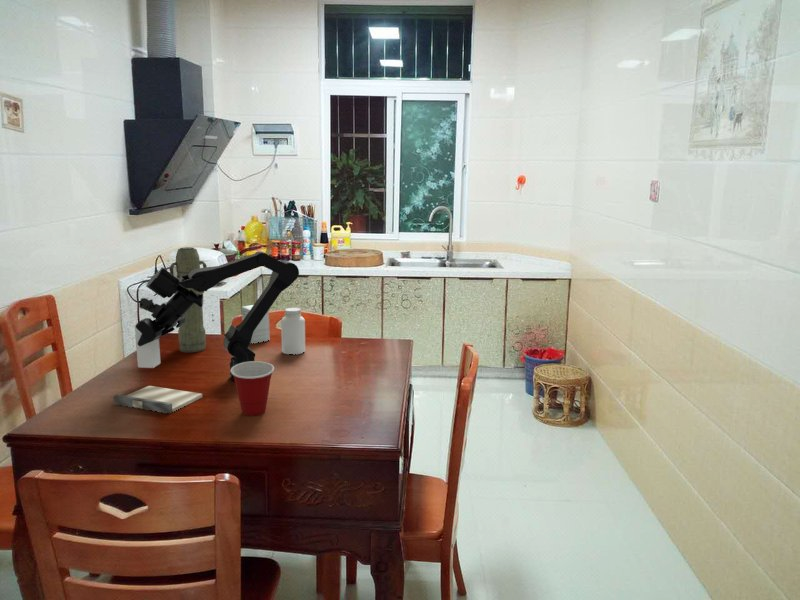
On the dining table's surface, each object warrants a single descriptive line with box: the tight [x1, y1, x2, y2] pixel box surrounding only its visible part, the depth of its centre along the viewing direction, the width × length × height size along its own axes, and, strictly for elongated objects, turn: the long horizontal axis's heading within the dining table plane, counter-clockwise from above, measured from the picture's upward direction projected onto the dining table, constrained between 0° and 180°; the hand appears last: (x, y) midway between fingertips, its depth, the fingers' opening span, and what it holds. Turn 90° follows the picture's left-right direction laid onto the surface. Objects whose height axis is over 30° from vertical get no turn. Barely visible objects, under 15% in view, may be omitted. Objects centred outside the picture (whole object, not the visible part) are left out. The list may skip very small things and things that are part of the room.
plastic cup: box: [229, 360, 275, 417], centre depth 160 cm, size 11×11×12 cm
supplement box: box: [241, 304, 271, 345], centre depth 228 cm, size 7×7×13 cm
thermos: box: [169, 246, 208, 353], centre depth 214 cm, size 9×12×35 cm
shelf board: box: [113, 385, 203, 415], centre depth 168 cm, size 18×13×2 cm
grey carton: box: [134, 325, 161, 369], centre depth 180 cm, size 5×4×12 cm
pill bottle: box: [280, 307, 306, 356], centre depth 214 cm, size 8×8×15 cm
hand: (143, 342), depth 180 cm, fingers closed on grey carton, 4 cm apart
